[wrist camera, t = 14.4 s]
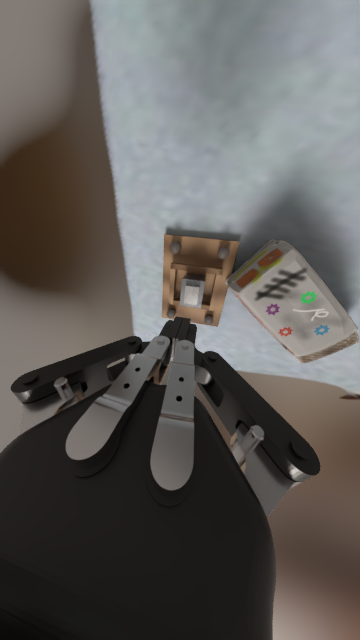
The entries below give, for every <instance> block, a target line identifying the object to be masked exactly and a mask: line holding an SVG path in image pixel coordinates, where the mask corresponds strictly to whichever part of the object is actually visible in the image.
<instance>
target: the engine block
mask: <svg viewBox="0 0 360 640" xmlns="http://www.w3.org/2000/svg"><path fill="white" fill-rule="evenodd" d="M205 280H206V275H201V274H193V273H186V275H185V276H184V277H183V278H182V285H181V296H180V306H187V307H193V308H200V309H201V304H202V298H203V292H204V287H205Z"/></svg>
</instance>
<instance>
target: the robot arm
mask: <svg viewBox="0 0 360 640" xmlns="http://www.w3.org/2000/svg"><path fill="white" fill-rule="evenodd" d="M190 322H191V319H190V318H183V317H178V316H176V317H175V319H174V321H172V320H169V321H168V322H166V324H165V326H164V327H163V329H162V331H161V333H160V334H159V336H156V337H154V338H153V339H152V341H150V342H142V340H141V338H139V337H137V336H131V337H127V338H124V339H122V340H119V341H116V342H113V343H110V344H107V345H105V346H102V347H99V348H96V349H93V350H90V351H87V352H85V353H82V354H79V355H76V356H74V357H70V358H67V359H65V360H62V361H59V362H56V363H53V364H50V365H48V366H45V367H42V368H39V369H36V370H33V371H31V372H28V373H26V374H24V375H22V376H21V377H19V378H18V379H17V380H16V381H15V382H14V383H13V384H12V386H11V391H12V392H13V393H14V394H15V395H16V397H17V398H18V400H19V402H20V403H21V404H22V405H23V407H22V420H21V434H20V435H19V436H18V437H17V438H16V439H14V440H13V441H12V442H11V443H10V444H9V445H8V446H7V447H6V448H5V449H4V450H3V451H2V452H1V453H0V640H272V620H273V602H274V593H275V585H276V557H275V548H274V543H273V538H272V534H271V529H270V526H269V523H268V520H267V517H268V516H269V515H270V514H271V512H272V511H273V510H274V508H275V507H276V506H277V504H278V503H279V502H280V501H281V499H282V498H283V497H284V495H285V494H286V493H287V491H288V490H289V489H291V488H292V487H294V486H296V485H298V484H300V483H302V482H304V481H305V480H307V479H309V478H311V477H313V476H315V475H317V474H318V473H319V471H320V463H319V459H318V457H317V455H316V453H315V451H314V450H313V448H312V447H311V446H310V445H309V443H307V441H306V440H305V439H304V438H303V437H302V436H301V435H300V434H298V432H297V431H296V430H295V429H294V428H292V426H291V425H289V423H287V421H285V419H284V418H283V417H282V416H281V415H280V414H279V413H277V412H276V411H275V410H274V409H273V408H272V407H271V406H270V405H269V404H268V403H267V402H266V401H265V400H264V399H263V398H262V397H261V396H260V395H259V394H258V393H257V392H256V391H255V390H254V389H253V388H252V387H251V386H250V385H249V384H248V383H247V382H246V381H245V380H244V379H243V378H242V377H241V376H240V375H239V374H238V373H237V372H236V371H235V370H234V369H233V368H232V367H231V366H230V365H229V364H228V363H227V362H226V361H225V360H224V359H223V358H222V357H221V356H220V355H219V354H218V353H216V352H213V351H207V352H205V353H202V352H200V351H198V350H197V349H196V348H195V338H196V331H197V327H196V325H195V324H190ZM124 357H125V361H123V362H120V363H119V364H116V365H114V366H112V367H109V368H107V366H108V365H109V364H111V363H112V362H115V361H117V360H120V359H122V358H124ZM170 360H173V362H172V364H171V369H170V373H169V378H168V382H167V385H160V384H161V382H162V379H163V377H164V375H165V373H166V370H167V368H168V364H169V361H170ZM194 380H195V381H197V385H198V387H199V388H200V390H201V391H202V393H203V394H204V396H205V397H206V399H207V400H208V402H209V403H210V405H211V406H212V408H213V409H214V411H215V412H216V414H217V415H218V416H219V418H220V420H221V421H222V423H223V424H224V426H225V427H226V429H227V430H228V432H229V433H230V435H231V436H232V438H231V449H232V452H233V453H234V456H235V458H236V459H235V458H234V456H233V454H232V453H231V451H230V449H229V448H228V446H227V444H226V442H225V441H224V439H223V437H222V435H221V434H220V432H219V430H218V429H217V427H216V425H215V423H214V422H213V420H212V418H211V416H210V415H209V413H208V411H207V410H206V408H205V407H204V405H203V404H202V403H201V402H200V401H199V400H198V399H197V398H196V397H195V396H194Z"/></svg>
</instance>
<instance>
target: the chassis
mask: <svg viewBox="0 0 360 640" xmlns="http://www.w3.org/2000/svg"><path fill="white" fill-rule="evenodd" d="M239 243H240V242H238V241H227V240H217V239H206V238H196V237H185V236H175V235H164V266H163V301H162V317H163V318H169V319H175V317H176V316H178V317H183V318H190V319H191V322H193V323H199V324H205V325H211V326H217V327H218V323H219V319H220V316H221V312H222V308H223V304H224V300H225V296H226V293H227V289H228V285H227V284H226V280H227V279H228V278H229V277H230V276H231V273H232V270H233V266H234V262H235V258H236V254H237V250H238V247H239ZM186 273H193V274H201V275H206V280H205V287H204V292H203V298H202V304H201V309H200V308H193V307H187V306H180V296H181V285H182V278H183V277H184V276H185V275H186Z"/></svg>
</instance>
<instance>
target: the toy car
mask: <svg viewBox="0 0 360 640" xmlns="http://www.w3.org/2000/svg"><path fill="white" fill-rule="evenodd" d="M272 241H273V242H272ZM271 242H272V243H271ZM270 243H271V244H270ZM226 284H227V285H228V287H229V288H230V290H231V291H232V292H233V293H234V295H235V296H236V297H237V298H238V299H239V300H240V301H241V303H242V304H243V305H244V306H245V307H246V308H247V309H248V311H249V312H250V313H251V314H252V315H253V316H254V317H255V318H256V319H257V320H258V321H259V322H260V323H261V325H262V326H263V327H264V328H265V329H266V330H267V331H268V332H269V333H270V334H271V335H272V336H273V337H274V338H275V339H276V340H277V341H278V342H279V343H280V344H281V345H282V346H283V347H284V348H285V349H286V350H287V351H288V352H289V353H291V354H292V355H293V356H294V357H295V358H296V359H297V360H298V361H299V362H300V363H308V362H311V361H314V360H317V359H319V358H322V357H325V356H328V355H330V354H333V353H335V352H337V351H340V350H342V349H345V348H347V347H349V346H351V345H353V344H355V343H357V342H359V341H358V340H359V339H360V338H359V336H358V334H357V333H356V330H357V329H358V328H357V327H356V325H355V324H354V322H353V320H352V319H351V317H350V316H349V314H348V313H347V312H346V311H345V309H344V308H343V307H342V306H341V304H340V303H339V302H338V301H337V299H336V298H335V297H334V295H333V294H332V292H331V291H330V290H329V288H328V287H327V285H326V284H325V282H324V281H323V280H322V279H321V278H320V276H319V275H318V274H317V273H316V272H315V271H314V269H313V268H312V267H311V266H310V265H309V263H308V262H307V261H306V260H305V259H304V257H303V256H302V255H301V254H300V253H299V252H298V251H297V250H296V249H295V248H294V247H293V246H292V245H290V244H289V243H287V242H285V241H283V240H278V241H275V240H274V239H272V240H270V241H269V242H268V243H266V244H265V245H264V246H263V247H262V248H261V249H260V250H259V251H257V252H256V253H255V254H254V255H253V256H252V257H251V258H250V259H249V260H247V261H246V262H245V263H244V264H243V265H242V266H241V267H240V268H239V269H238V270H237V271H236V272H234V273H233V274H232V275H231V276H230V277H229V278H228V279H227V280H226Z"/></svg>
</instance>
